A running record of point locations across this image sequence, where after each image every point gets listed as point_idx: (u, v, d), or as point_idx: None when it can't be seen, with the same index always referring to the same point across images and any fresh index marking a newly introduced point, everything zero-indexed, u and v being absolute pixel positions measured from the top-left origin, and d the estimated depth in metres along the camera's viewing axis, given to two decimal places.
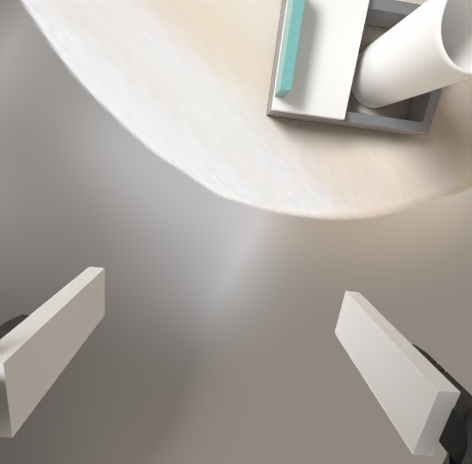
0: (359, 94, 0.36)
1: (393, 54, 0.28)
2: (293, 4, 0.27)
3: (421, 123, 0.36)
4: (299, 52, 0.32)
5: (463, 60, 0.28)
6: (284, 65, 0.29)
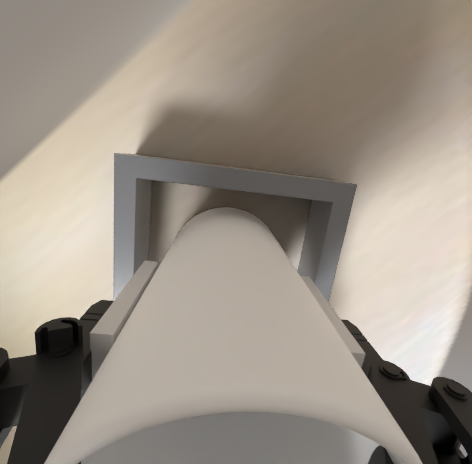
0: None
1: None
2: None
3: (335, 204, 0.16)
4: None
5: None
6: None
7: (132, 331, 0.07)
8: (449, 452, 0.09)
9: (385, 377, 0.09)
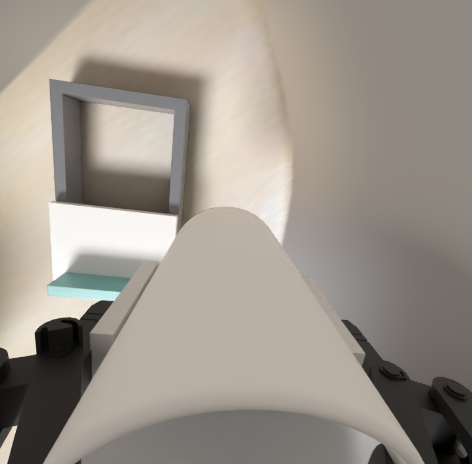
0: None
1: None
2: (77, 297, 0.29)
3: (176, 111, 0.29)
4: (117, 268, 0.32)
5: None
6: None
7: (132, 330, 0.07)
8: (449, 453, 0.09)
9: (385, 377, 0.09)
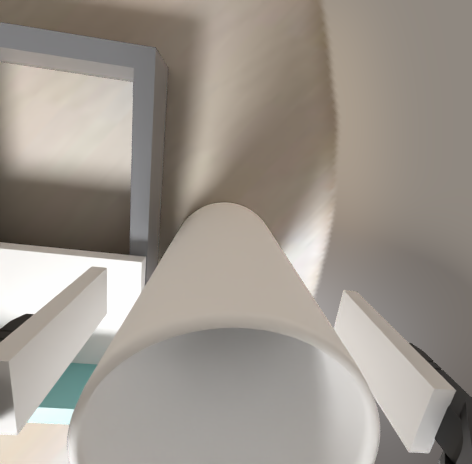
0: None
1: None
2: None
3: (136, 70, 0.15)
4: None
5: None
6: (54, 421, 0.16)
7: (149, 292, 0.09)
8: None
9: None
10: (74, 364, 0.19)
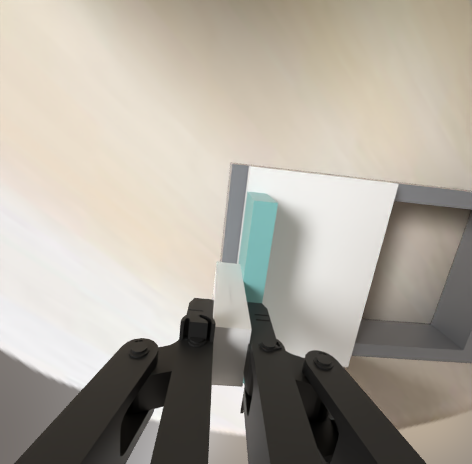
0: None
1: None
2: (247, 257, 0.14)
3: (461, 352, 0.22)
4: (268, 282, 0.18)
5: None
6: None
7: None
8: (322, 418, 0.09)
9: (264, 352, 0.09)
10: None
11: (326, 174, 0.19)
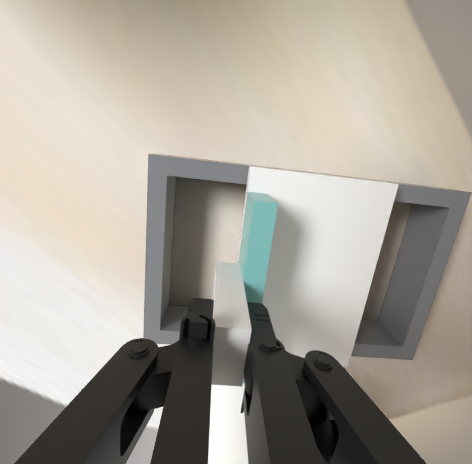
0: None
1: None
2: (247, 258, 0.14)
3: (400, 348, 0.22)
4: (268, 282, 0.18)
5: None
6: None
7: None
8: (322, 418, 0.09)
9: (264, 352, 0.09)
10: None
11: None
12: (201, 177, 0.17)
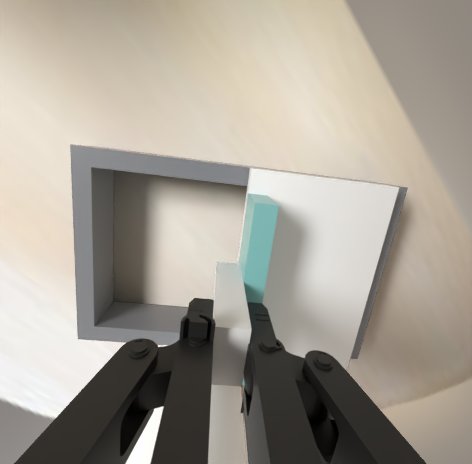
0: None
1: None
2: (248, 260, 0.14)
3: None
4: (268, 284, 0.18)
5: None
6: None
7: None
8: (322, 418, 0.09)
9: (264, 352, 0.09)
10: None
11: (184, 158, 0.18)
12: (127, 169, 0.17)
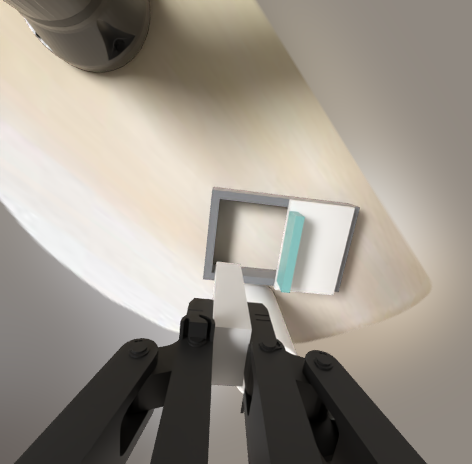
0: None
1: None
2: (292, 237, 0.35)
3: None
4: None
5: None
6: (284, 276, 0.37)
7: (289, 338, 0.34)
8: (322, 418, 0.09)
9: (264, 352, 0.09)
10: None
11: (258, 194, 0.39)
12: (235, 199, 0.38)
